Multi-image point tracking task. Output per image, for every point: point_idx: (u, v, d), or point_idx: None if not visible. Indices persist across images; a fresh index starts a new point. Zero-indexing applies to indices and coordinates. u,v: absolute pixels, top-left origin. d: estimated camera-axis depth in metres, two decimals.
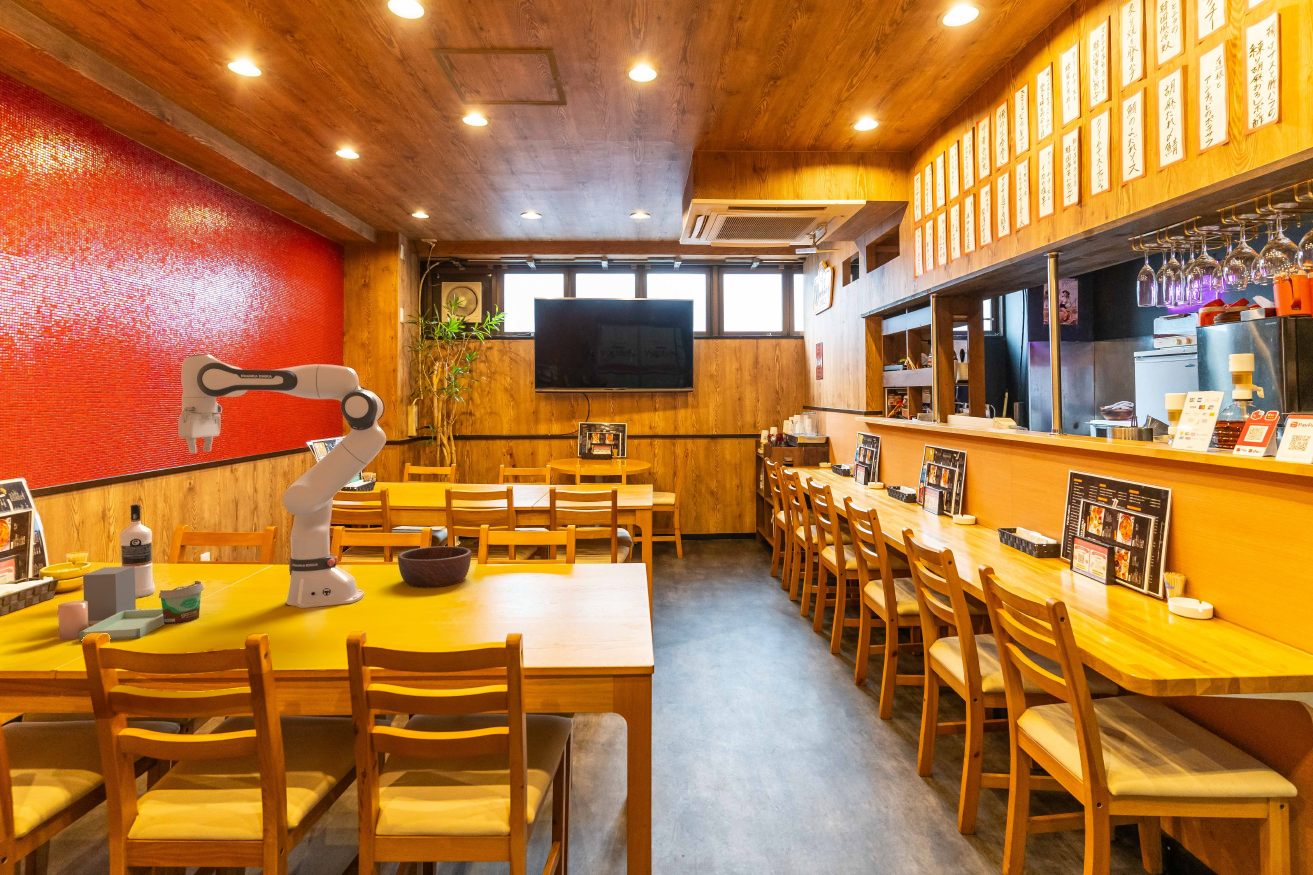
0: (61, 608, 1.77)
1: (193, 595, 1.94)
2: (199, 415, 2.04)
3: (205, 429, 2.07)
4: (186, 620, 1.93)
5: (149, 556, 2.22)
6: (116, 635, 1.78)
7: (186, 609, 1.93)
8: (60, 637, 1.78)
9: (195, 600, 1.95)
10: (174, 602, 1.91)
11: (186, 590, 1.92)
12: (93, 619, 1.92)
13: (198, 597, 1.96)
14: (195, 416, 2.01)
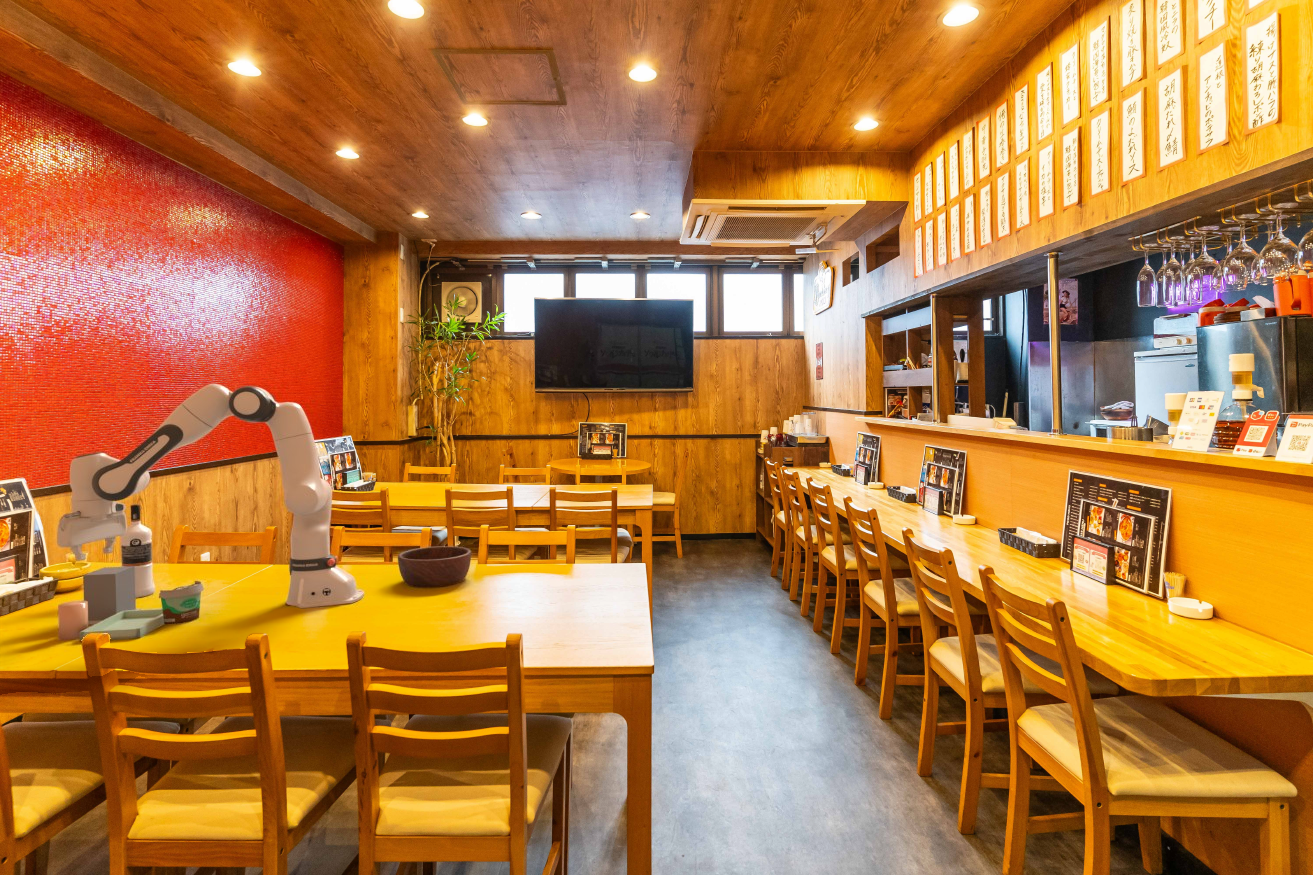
0: (61, 608, 1.77)
1: (193, 595, 1.94)
2: (85, 519, 1.90)
3: (97, 532, 1.94)
4: (186, 620, 1.93)
5: (149, 556, 2.22)
6: (116, 635, 1.78)
7: (186, 609, 1.93)
8: (60, 637, 1.78)
9: (195, 600, 1.95)
10: (174, 602, 1.91)
11: (186, 590, 1.92)
12: (93, 619, 1.92)
13: (198, 597, 1.96)
14: (77, 522, 1.88)
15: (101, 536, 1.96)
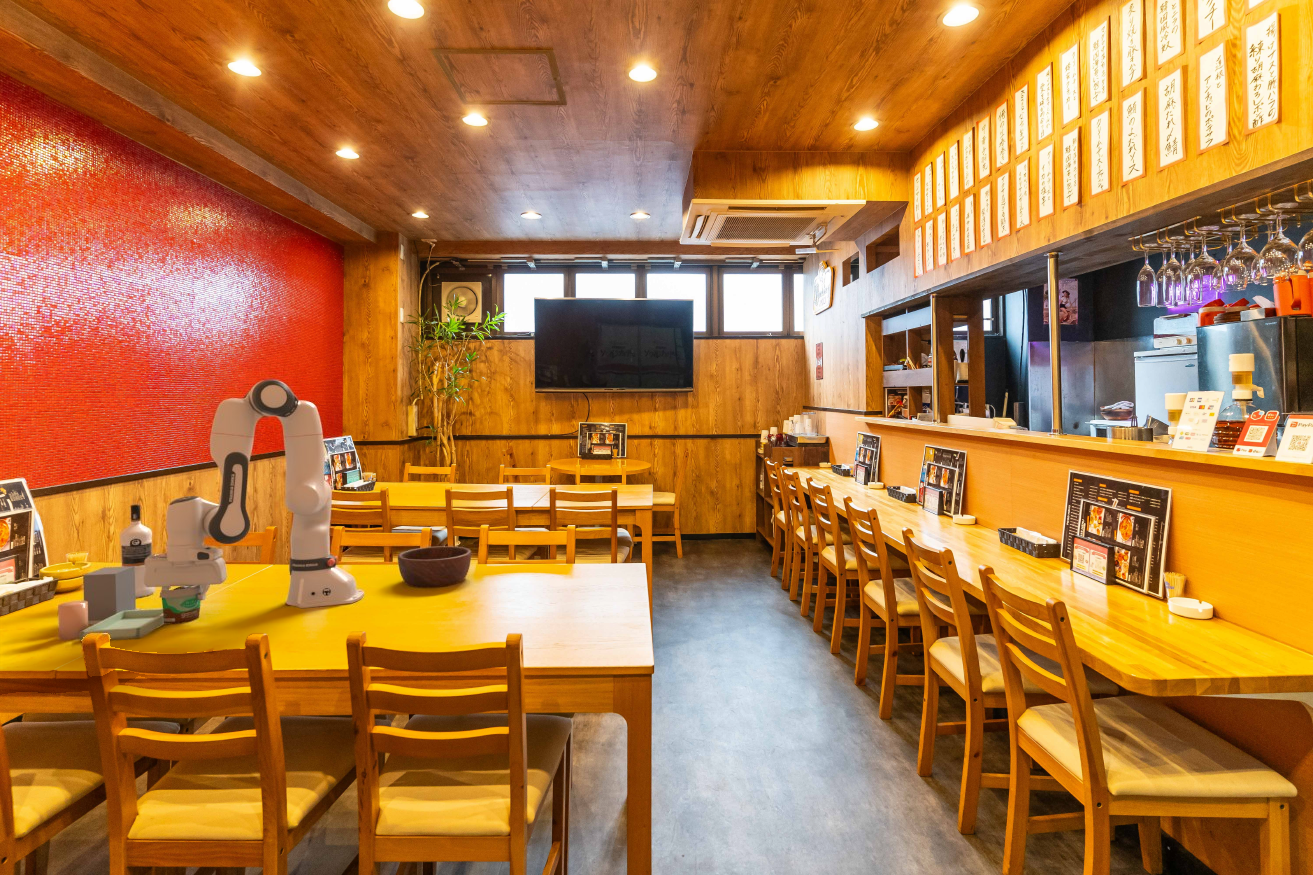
0: (61, 608, 1.77)
1: (194, 595, 1.94)
2: (165, 563, 1.92)
3: (179, 577, 1.93)
4: (186, 620, 1.93)
5: None
6: (116, 635, 1.78)
7: (186, 609, 1.93)
8: (60, 637, 1.78)
9: (195, 600, 1.95)
10: (175, 602, 1.91)
11: (187, 590, 1.92)
12: (93, 619, 1.92)
13: None
14: (154, 564, 1.91)
15: (185, 582, 1.93)
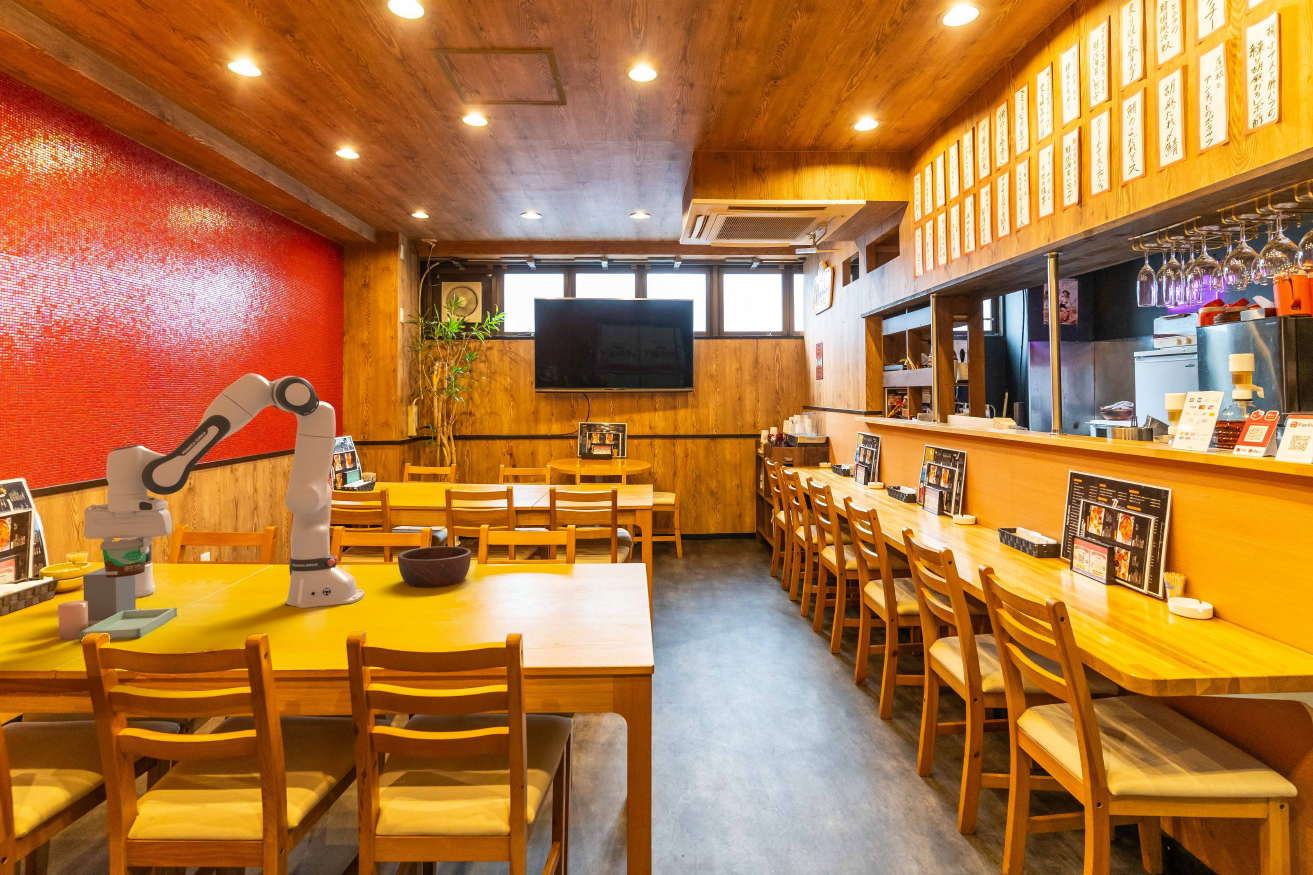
0: (61, 608, 1.77)
1: (137, 547, 1.87)
2: (105, 514, 1.84)
3: (121, 528, 1.85)
4: (130, 573, 1.85)
5: (149, 556, 2.22)
6: (116, 635, 1.78)
7: (129, 562, 1.85)
8: (60, 637, 1.78)
9: (139, 553, 1.87)
10: (116, 554, 1.83)
11: (129, 542, 1.85)
12: (93, 619, 1.92)
13: None
14: (94, 515, 1.84)
15: (127, 533, 1.85)
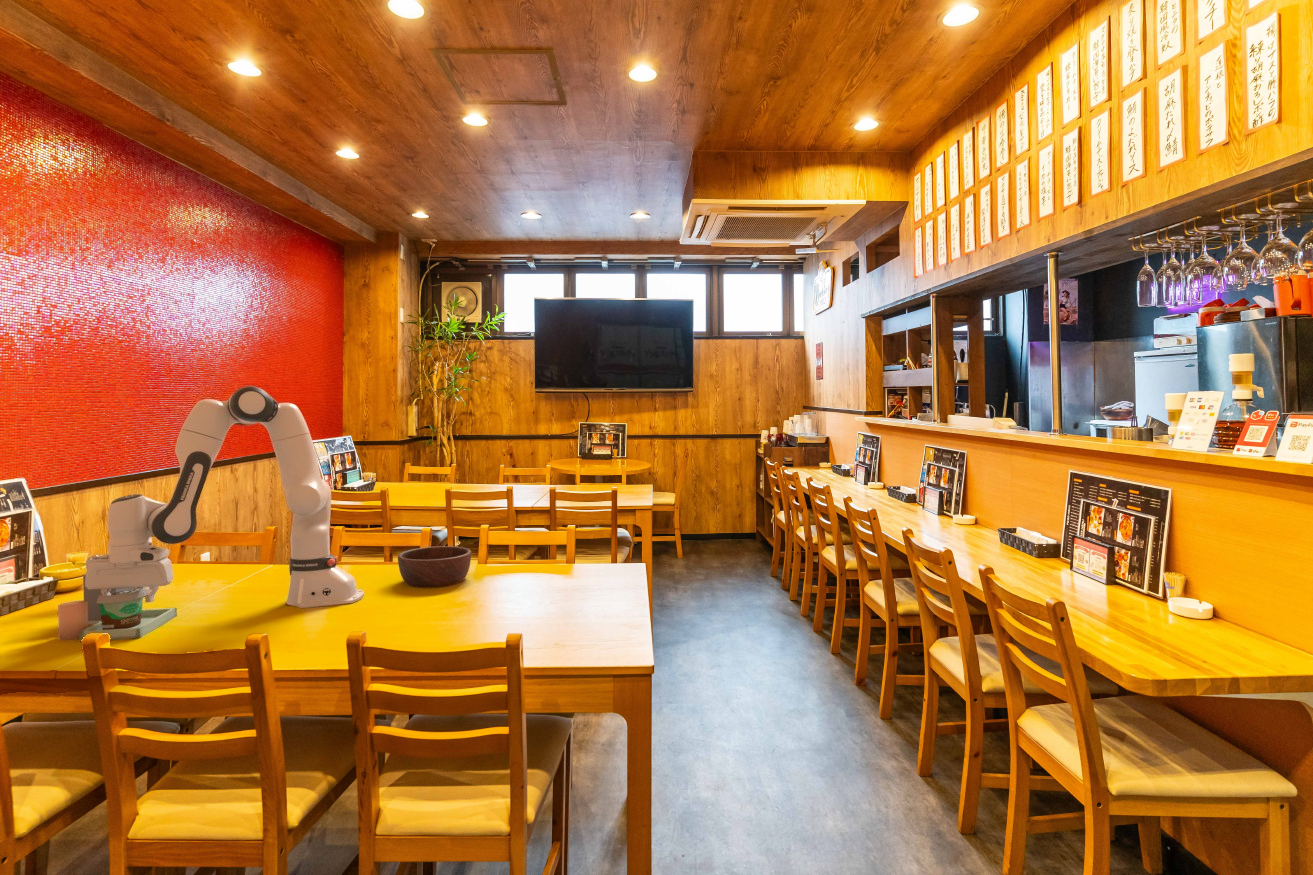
0: (61, 608, 1.77)
1: (134, 600, 1.87)
2: (107, 564, 1.85)
3: (123, 579, 1.86)
4: (126, 626, 1.86)
5: None
6: (116, 635, 1.78)
7: (126, 615, 1.85)
8: (60, 637, 1.78)
9: (136, 605, 1.88)
10: (113, 607, 1.83)
11: (126, 595, 1.85)
12: (93, 619, 1.92)
13: (140, 602, 1.89)
14: (95, 566, 1.84)
15: (128, 584, 1.86)
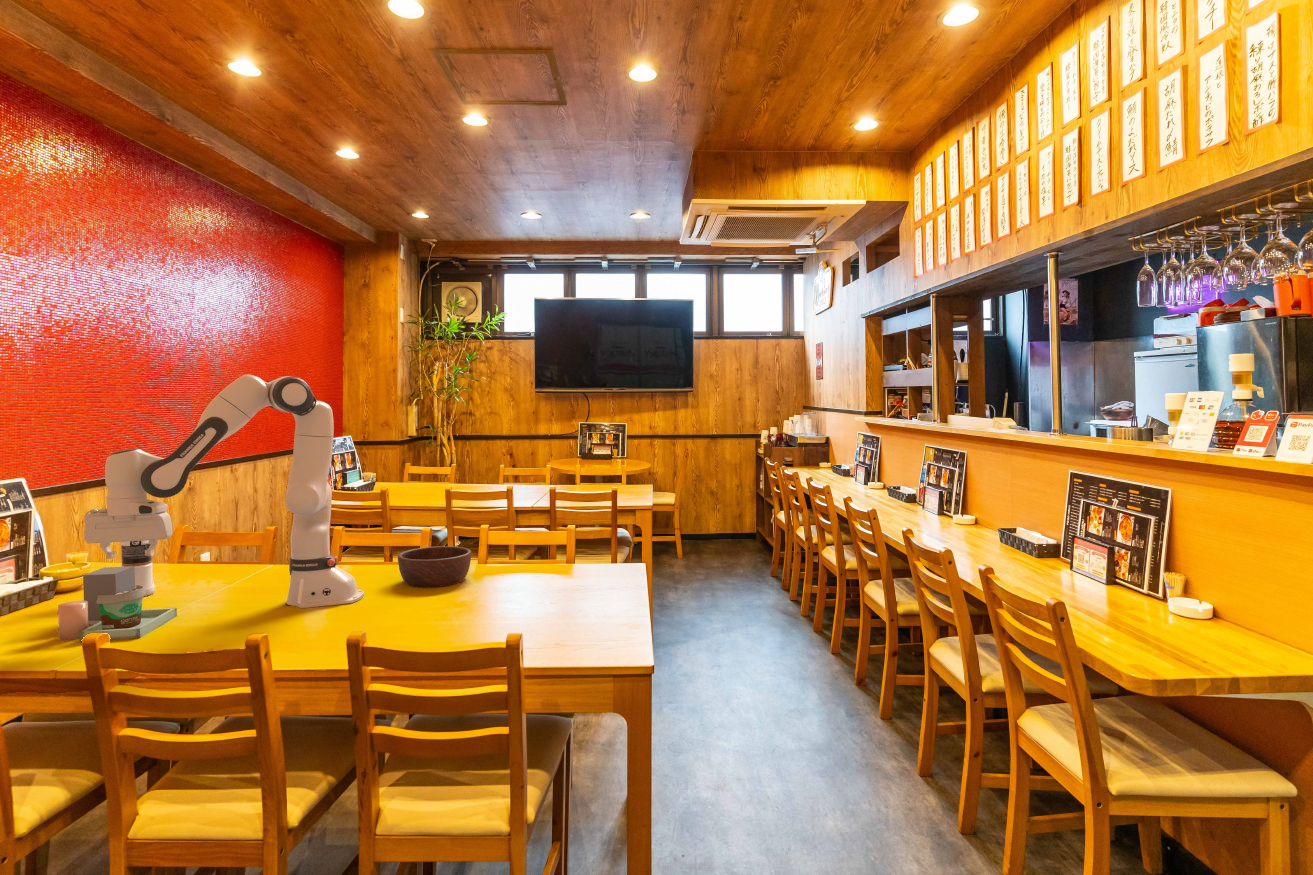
0: (61, 608, 1.77)
1: (134, 600, 1.87)
2: (105, 518, 1.84)
3: (122, 532, 1.85)
4: (126, 626, 1.86)
5: (149, 556, 2.22)
6: (116, 635, 1.78)
7: (126, 615, 1.85)
8: (60, 637, 1.78)
9: (136, 605, 1.88)
10: (113, 607, 1.83)
11: (126, 595, 1.85)
12: (93, 619, 1.92)
13: (139, 602, 1.89)
14: (94, 520, 1.84)
15: (128, 537, 1.85)
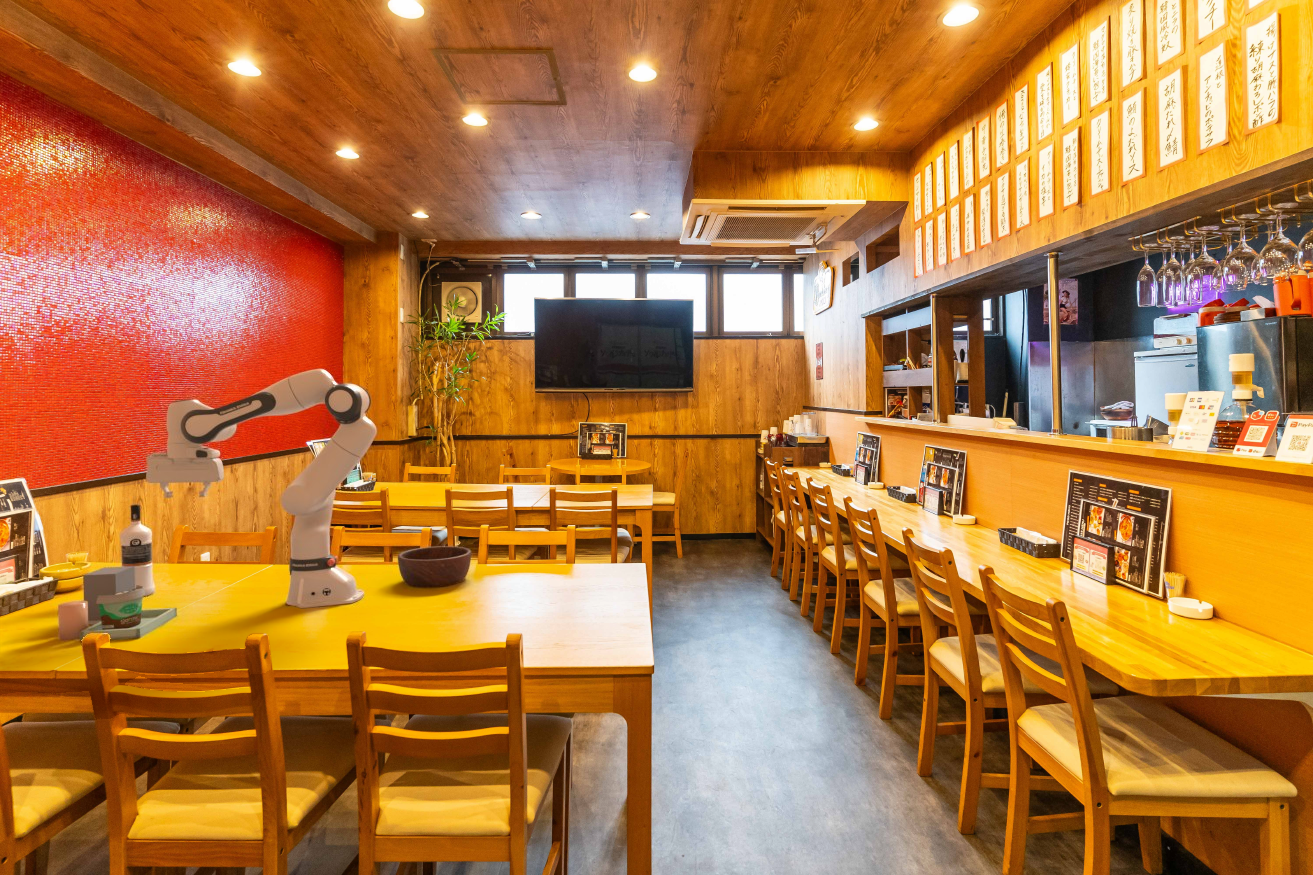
0: (61, 608, 1.77)
1: (134, 600, 1.87)
2: (165, 460, 2.04)
3: (179, 474, 2.05)
4: (126, 626, 1.86)
5: (149, 556, 2.22)
6: (116, 635, 1.78)
7: (125, 615, 1.85)
8: (60, 637, 1.78)
9: (136, 605, 1.88)
10: (113, 607, 1.83)
11: (126, 595, 1.85)
12: (93, 619, 1.92)
13: (139, 602, 1.89)
14: (155, 462, 2.04)
15: (185, 479, 2.06)
